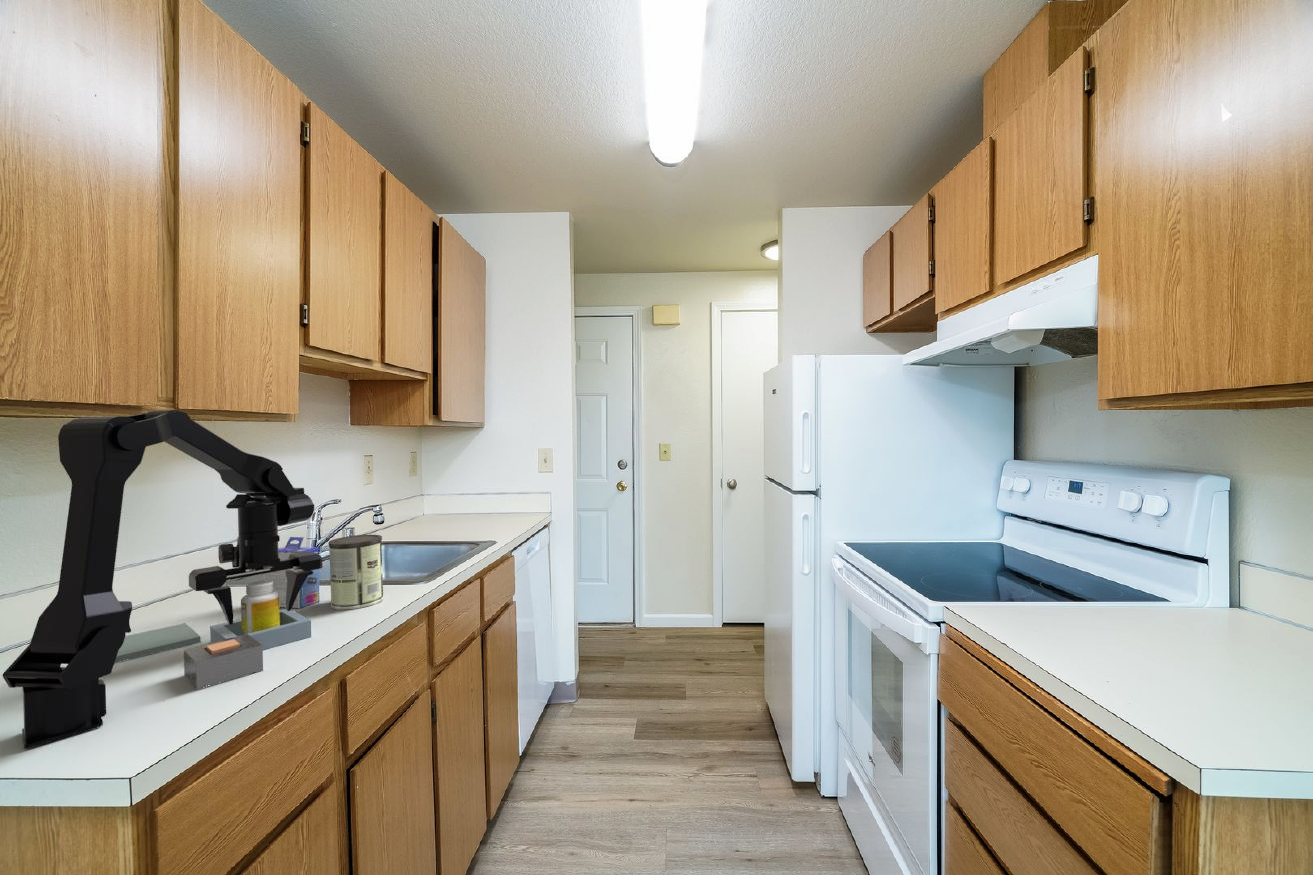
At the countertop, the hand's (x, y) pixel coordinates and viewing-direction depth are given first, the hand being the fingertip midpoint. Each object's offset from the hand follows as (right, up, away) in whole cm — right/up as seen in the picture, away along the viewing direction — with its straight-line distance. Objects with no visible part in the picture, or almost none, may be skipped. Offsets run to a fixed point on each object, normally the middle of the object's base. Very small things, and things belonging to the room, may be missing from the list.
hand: (260, 616), depth 97 cm
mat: (-19, -5, -1) cm, 20 cm away
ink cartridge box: (-9, -5, +21) cm, 23 cm away
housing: (0, -4, 0) cm, 4 cm away
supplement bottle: (0, -4, 0) cm, 4 cm away
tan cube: (+4, -3, -14) cm, 15 cm away
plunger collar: (+4, -4, -14) cm, 15 cm away
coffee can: (+6, -4, +21) cm, 22 cm away
